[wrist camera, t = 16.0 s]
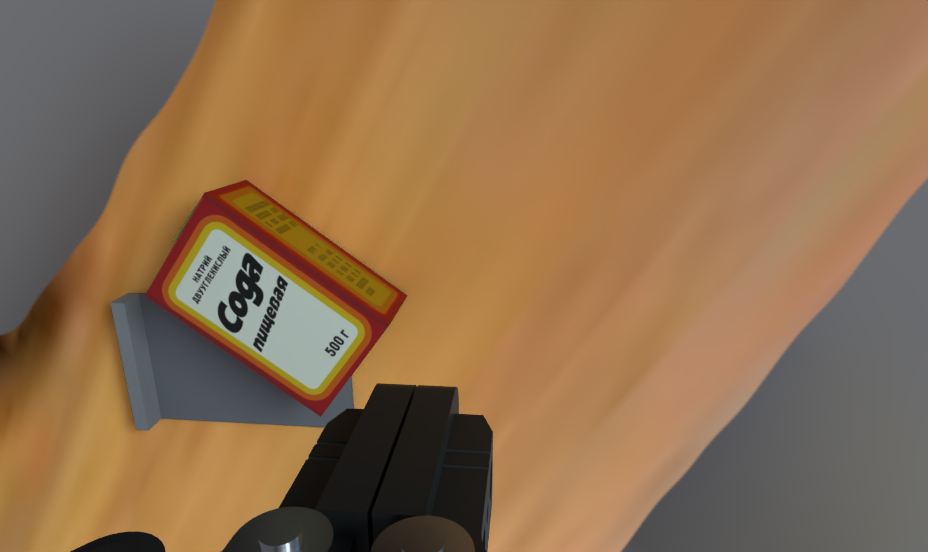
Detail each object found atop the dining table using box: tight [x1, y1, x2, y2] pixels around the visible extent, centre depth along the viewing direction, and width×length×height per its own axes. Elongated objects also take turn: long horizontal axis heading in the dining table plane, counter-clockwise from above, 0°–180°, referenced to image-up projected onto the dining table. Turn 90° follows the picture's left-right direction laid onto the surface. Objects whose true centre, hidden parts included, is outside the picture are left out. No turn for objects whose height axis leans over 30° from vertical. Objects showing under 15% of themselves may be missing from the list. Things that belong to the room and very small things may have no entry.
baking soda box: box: [145, 180, 407, 417], centre depth 48 cm, size 10×6×16 cm
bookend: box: [111, 293, 354, 430], centre depth 54 cm, size 12×19×2 cm, turn 90°
